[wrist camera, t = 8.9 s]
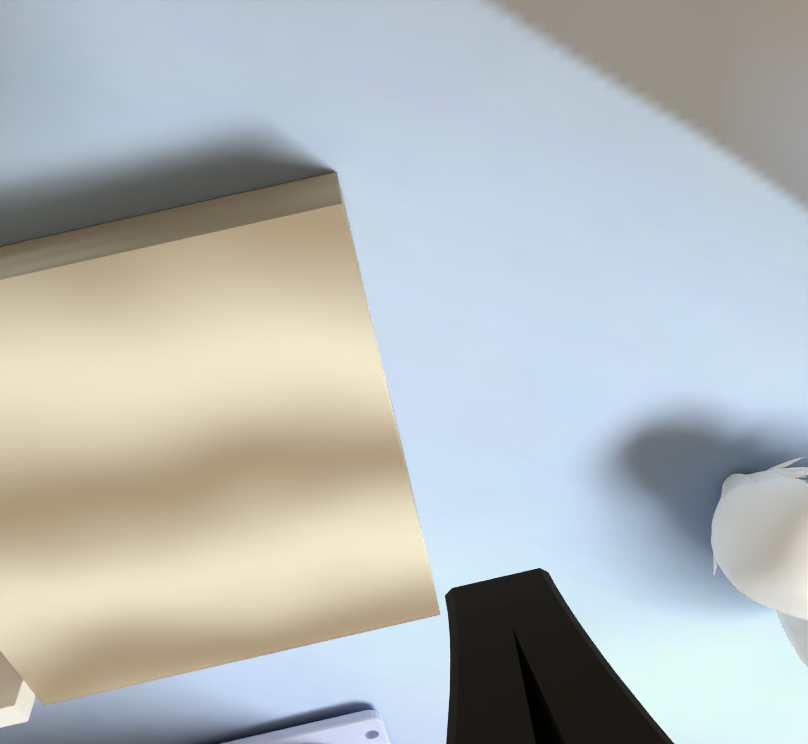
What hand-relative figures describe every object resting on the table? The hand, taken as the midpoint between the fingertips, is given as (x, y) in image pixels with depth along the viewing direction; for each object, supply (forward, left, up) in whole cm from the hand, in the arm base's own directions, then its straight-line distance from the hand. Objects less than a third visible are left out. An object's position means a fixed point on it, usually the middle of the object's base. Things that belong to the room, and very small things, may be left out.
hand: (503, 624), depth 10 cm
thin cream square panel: (-3, +7, -10) cm, 12 cm away
